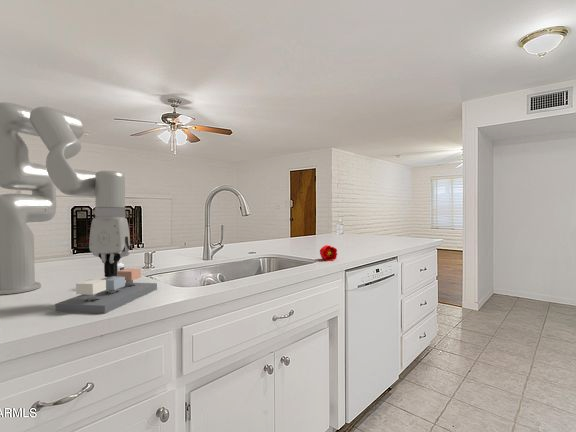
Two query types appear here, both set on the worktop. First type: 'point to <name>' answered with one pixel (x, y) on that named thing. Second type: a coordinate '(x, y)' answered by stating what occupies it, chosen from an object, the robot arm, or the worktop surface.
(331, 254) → the flower
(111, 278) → the slate key
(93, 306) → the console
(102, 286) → the ivory key
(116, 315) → the worktop surface
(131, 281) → the terracotta key
